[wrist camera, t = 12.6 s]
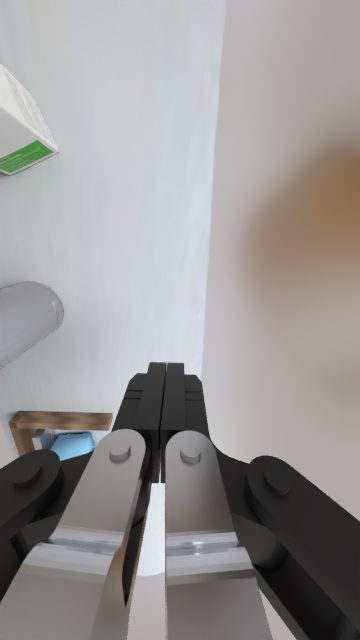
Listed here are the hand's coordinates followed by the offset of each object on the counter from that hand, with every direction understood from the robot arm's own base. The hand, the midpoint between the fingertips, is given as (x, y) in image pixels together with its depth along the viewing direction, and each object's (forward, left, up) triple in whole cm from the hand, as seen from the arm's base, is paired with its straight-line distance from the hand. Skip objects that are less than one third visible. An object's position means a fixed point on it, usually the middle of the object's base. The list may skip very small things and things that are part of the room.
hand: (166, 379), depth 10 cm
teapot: (-22, -37, -27) cm, 51 cm away
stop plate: (-27, -38, -27) cm, 54 cm away
